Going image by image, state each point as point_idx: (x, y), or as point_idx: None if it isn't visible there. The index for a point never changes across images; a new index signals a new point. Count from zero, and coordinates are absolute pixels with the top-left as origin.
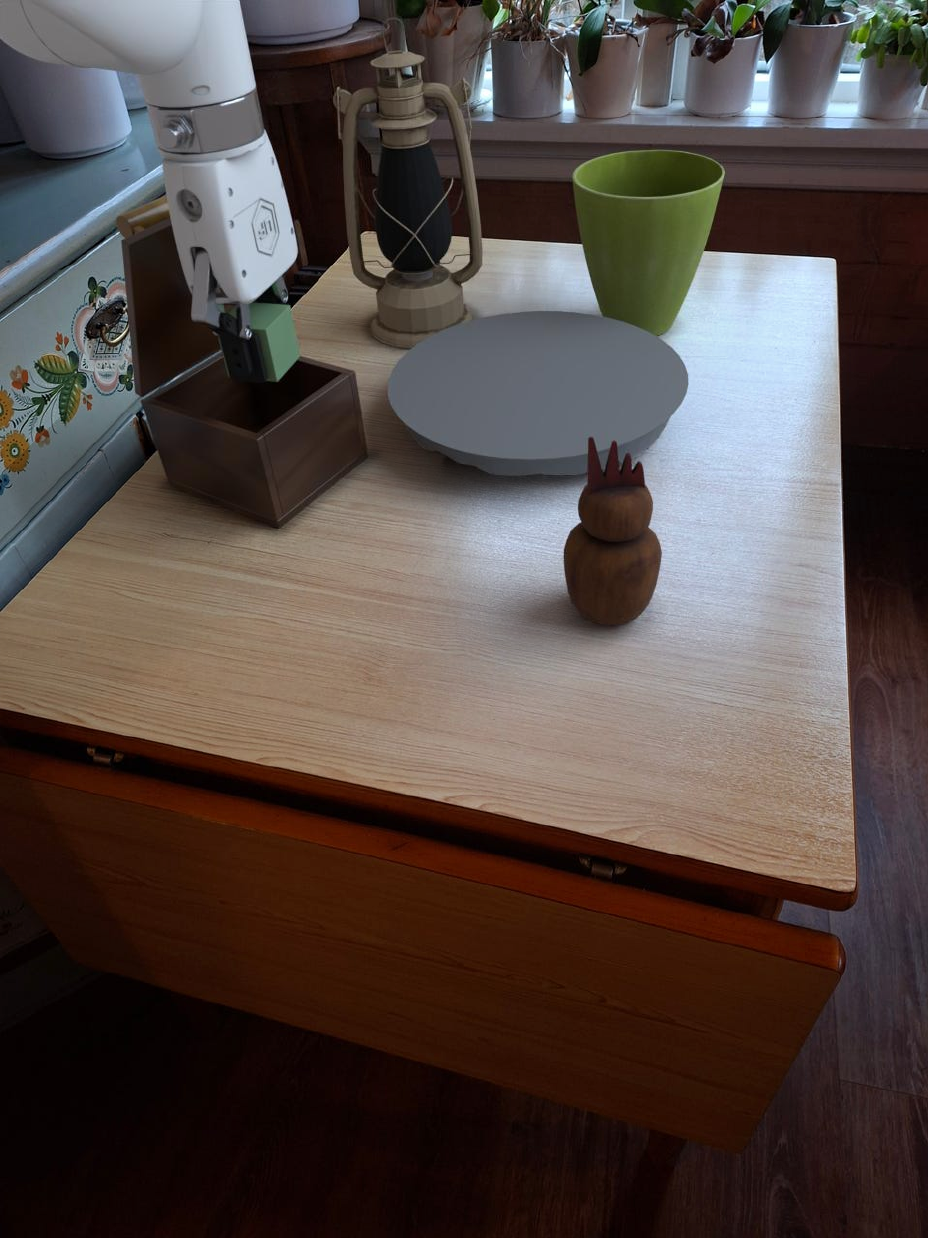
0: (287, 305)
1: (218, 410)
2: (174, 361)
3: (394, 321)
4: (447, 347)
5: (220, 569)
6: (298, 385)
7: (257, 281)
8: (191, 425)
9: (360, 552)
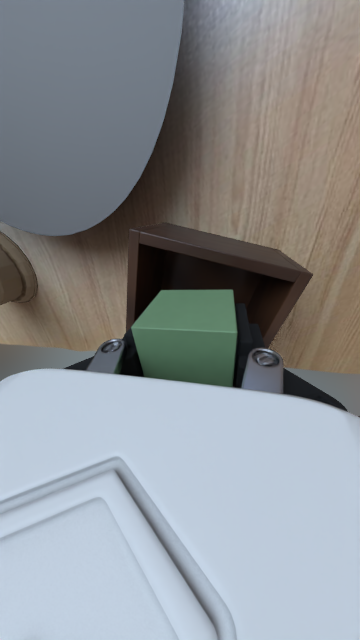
0: (133, 330)
1: None
2: None
3: (14, 280)
4: (10, 194)
5: (338, 271)
6: (145, 298)
7: (283, 442)
8: None
9: (317, 142)
